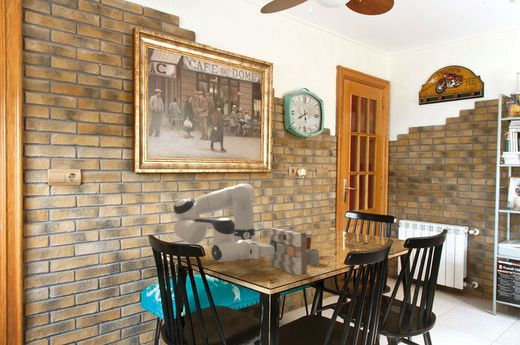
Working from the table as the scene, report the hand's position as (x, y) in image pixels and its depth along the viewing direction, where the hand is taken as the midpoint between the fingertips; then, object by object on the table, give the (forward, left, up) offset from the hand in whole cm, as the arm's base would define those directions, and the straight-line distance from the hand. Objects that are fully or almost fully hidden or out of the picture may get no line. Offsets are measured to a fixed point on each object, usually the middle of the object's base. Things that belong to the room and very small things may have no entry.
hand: (272, 246), depth 188 cm
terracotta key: (+14, +5, -2) cm, 15 cm away
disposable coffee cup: (-21, +24, -10) cm, 33 cm away
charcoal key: (0, +1, -2) cm, 2 cm away
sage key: (+7, +2, -2) cm, 8 cm away
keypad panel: (+6, +5, -10) cm, 13 cm away
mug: (-1, +19, -10) cm, 22 cm away
